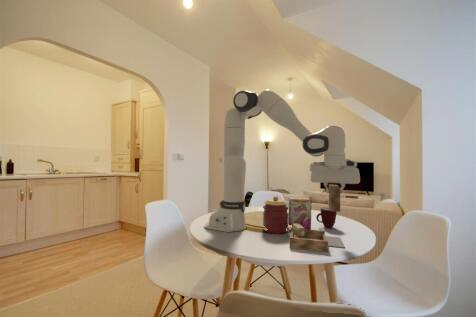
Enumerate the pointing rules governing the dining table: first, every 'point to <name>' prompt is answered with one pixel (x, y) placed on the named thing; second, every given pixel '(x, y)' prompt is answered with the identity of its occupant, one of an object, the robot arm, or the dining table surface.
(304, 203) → the candy bar box
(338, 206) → the tall brown cardboard box
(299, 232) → the offcut top
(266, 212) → the canister
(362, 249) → the dining table surface
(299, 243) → the rack
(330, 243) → the felt pad
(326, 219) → the mug
